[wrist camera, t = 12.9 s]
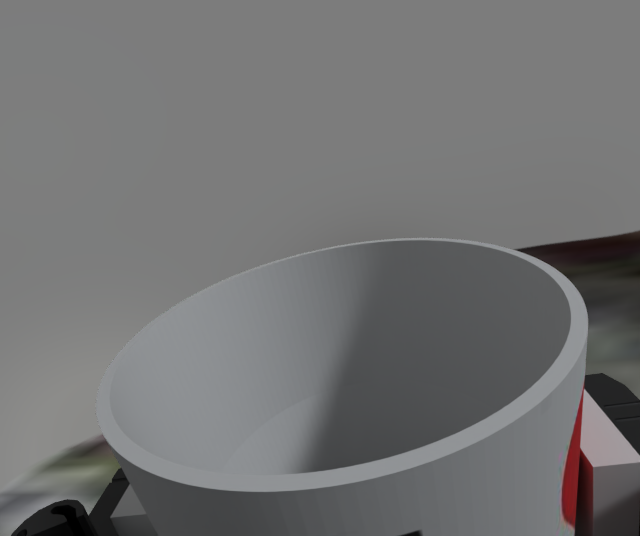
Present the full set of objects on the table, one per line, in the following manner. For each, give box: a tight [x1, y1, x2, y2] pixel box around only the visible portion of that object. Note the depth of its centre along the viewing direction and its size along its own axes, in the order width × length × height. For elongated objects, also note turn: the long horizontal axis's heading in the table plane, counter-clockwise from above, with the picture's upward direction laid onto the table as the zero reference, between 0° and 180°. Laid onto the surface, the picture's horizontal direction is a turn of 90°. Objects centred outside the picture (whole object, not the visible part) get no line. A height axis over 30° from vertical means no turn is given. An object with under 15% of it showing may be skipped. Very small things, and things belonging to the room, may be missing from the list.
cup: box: [96, 238, 588, 536], centre depth 10 cm, size 8×8×10 cm
